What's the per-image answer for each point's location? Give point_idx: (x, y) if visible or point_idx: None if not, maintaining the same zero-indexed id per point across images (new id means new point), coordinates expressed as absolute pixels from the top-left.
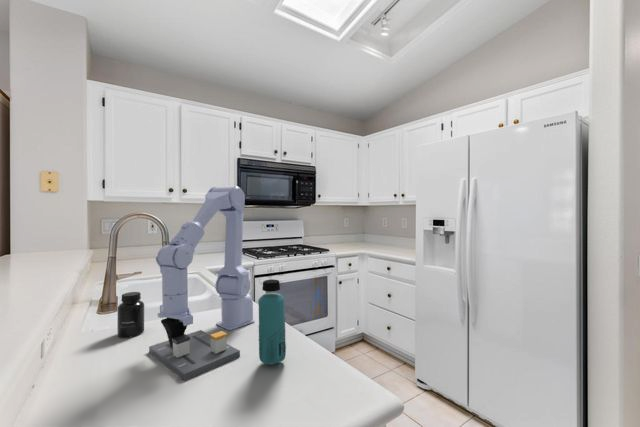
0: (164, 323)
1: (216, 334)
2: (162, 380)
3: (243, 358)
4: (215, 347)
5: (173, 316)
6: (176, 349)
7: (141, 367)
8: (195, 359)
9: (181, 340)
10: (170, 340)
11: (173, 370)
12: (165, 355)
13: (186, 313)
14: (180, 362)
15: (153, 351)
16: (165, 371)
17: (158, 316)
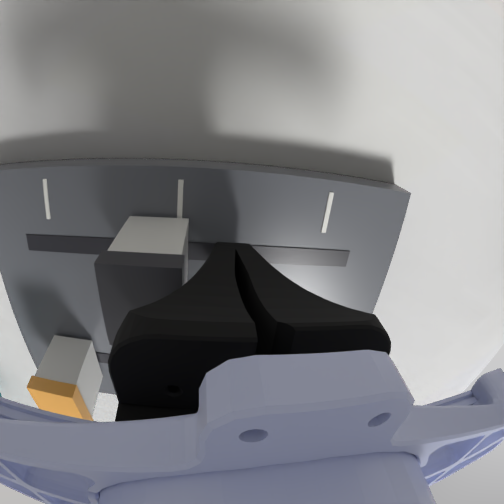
0: (246, 323)
1: (60, 408)
2: (57, 96)
3: None
4: (45, 353)
5: (30, 447)
6: (126, 235)
7: (273, 74)
8: (60, 265)
9: (99, 291)
10: (227, 258)
11: (81, 160)
12: (223, 188)
13: (42, 497)
14: (75, 205)
15: (353, 181)
16: (121, 134)
17: (322, 360)
